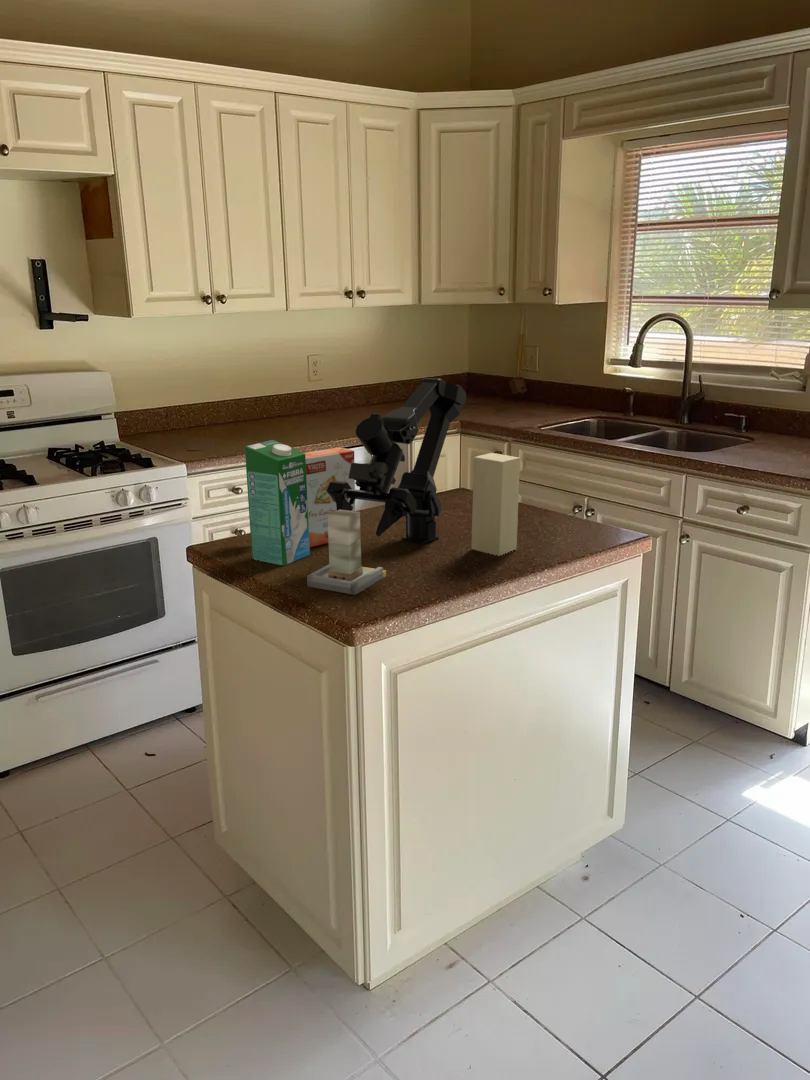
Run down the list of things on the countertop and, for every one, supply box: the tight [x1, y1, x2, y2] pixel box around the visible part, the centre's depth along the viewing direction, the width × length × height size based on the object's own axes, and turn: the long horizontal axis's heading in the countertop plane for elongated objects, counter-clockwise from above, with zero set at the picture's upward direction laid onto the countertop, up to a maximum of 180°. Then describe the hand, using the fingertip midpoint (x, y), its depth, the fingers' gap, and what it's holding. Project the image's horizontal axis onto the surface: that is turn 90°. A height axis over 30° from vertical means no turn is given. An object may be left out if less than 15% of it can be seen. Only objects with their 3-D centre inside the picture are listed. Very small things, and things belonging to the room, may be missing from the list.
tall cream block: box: [471, 452, 521, 557], centre depth 188 cm, size 8×7×21 cm
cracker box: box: [304, 446, 356, 548], centre depth 196 cm, size 14×6×21 cm, turn 131°
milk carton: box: [244, 439, 311, 567], centre depth 184 cm, size 9×9×25 cm
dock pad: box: [306, 563, 387, 596], centre depth 172 cm, size 12×11×2 cm
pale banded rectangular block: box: [328, 510, 364, 581], centre depth 169 cm, size 5×5×13 cm
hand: (357, 532), depth 173 cm, fingers open, 9 cm apart
